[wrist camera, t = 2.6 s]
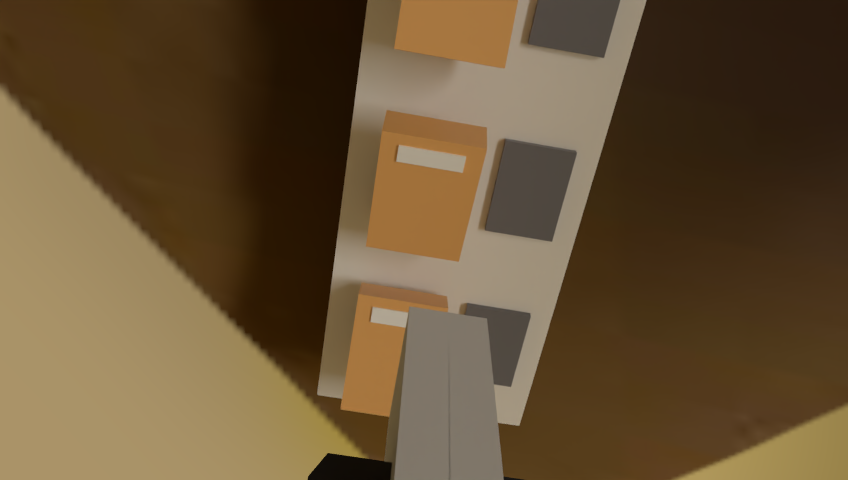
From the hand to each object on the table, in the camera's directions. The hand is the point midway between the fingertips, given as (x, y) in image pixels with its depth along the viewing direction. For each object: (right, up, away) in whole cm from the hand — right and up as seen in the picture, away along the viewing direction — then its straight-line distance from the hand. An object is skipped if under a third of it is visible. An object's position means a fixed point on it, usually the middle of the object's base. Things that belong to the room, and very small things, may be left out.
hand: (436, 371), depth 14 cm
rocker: (-1, -2, +14) cm, 14 cm away
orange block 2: (0, +4, +10) cm, 11 cm away
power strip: (+2, +9, +14) cm, 17 cm away
